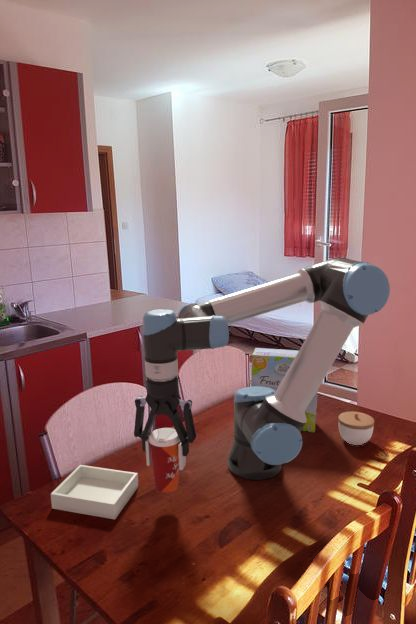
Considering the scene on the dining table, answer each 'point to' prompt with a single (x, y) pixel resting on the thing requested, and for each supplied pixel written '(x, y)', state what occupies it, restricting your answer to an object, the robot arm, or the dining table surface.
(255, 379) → the snack box
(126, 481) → the tray
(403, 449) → the dining table surface
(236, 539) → the dining table surface
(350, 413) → the lidded jar
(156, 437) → the paper cup
